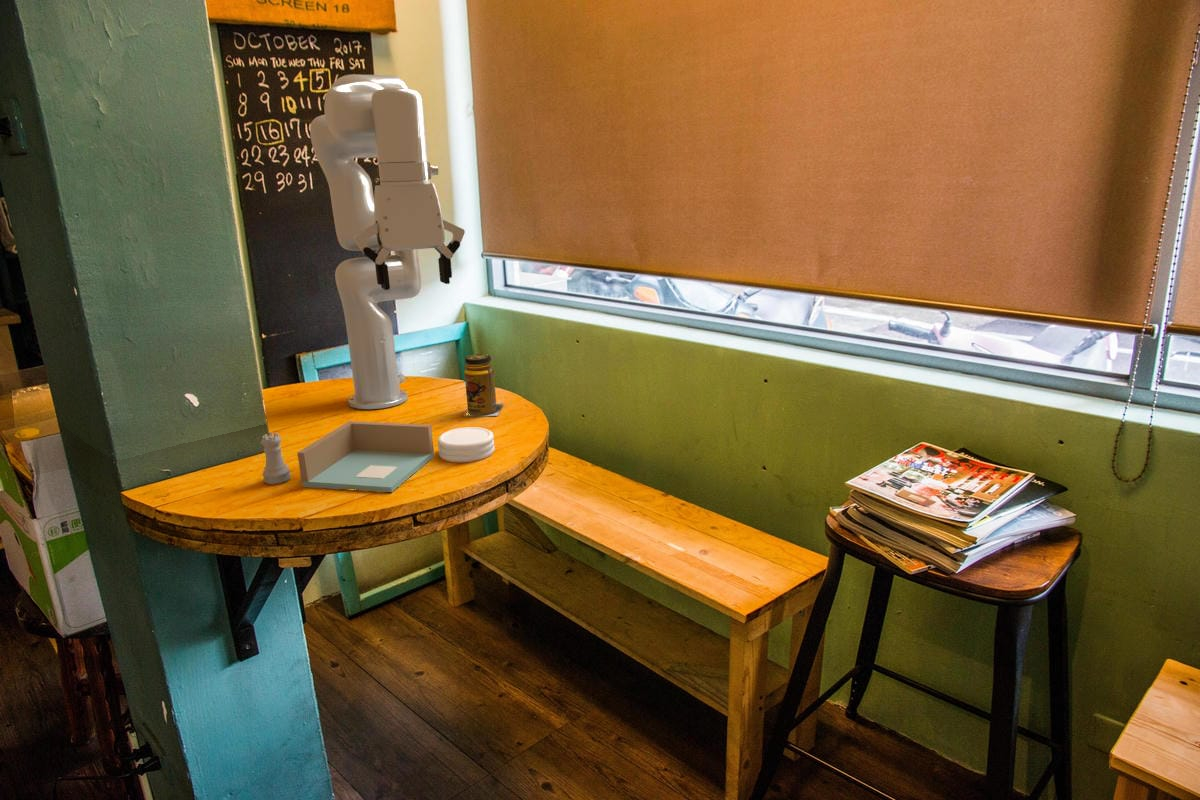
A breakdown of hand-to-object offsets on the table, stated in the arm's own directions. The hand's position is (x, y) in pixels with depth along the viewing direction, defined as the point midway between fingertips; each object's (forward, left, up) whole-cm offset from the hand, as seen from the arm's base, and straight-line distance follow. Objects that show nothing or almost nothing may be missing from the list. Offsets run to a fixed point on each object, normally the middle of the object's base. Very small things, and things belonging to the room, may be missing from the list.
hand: (415, 285), depth 125 cm
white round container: (-7, +3, -32) cm, 33 cm away
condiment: (-31, -3, -32) cm, 45 cm away
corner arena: (+4, -10, -31) cm, 33 cm away
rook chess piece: (+10, -24, -31) cm, 41 cm away
